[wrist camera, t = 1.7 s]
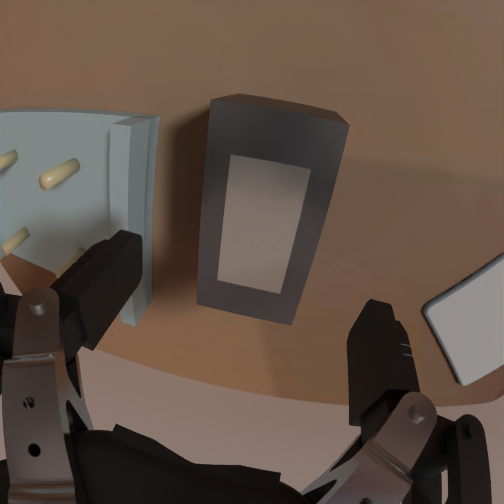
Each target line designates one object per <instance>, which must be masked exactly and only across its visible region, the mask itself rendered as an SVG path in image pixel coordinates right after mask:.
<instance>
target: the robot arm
mask: <svg viewBox="0 0 504 504" xmlns="http://www.w3.org/2000/svg"><path fill="white" fill-rule="evenodd" d="M142 273H143V241H142V236H141V235H140V234H136V233H133V232H130V231H126V230H123V229H121V230H119V231H118V232H117V233H116V234H115V235H113V236H112V237H111V238H110V239H109V240H107V239H104V240H102V241H100V242H98V243H96V244H94V245H92V246H91V247H90V248H89V249H88V250H87V251H86V252H85V253H84V255H82V256H80V257H79V258H78V259H77V261H76V262H74V263H73V264H72V265H71V266H70V267H69V268H68V269H67V270H66V271H65V272H64V273H63V274H62V275H61V276H60V277H59V278H58V279H57V280H56V281H55V282H54V283H53V284H52V285H51V286H50V287H36V288H32V289H30V290H29V291H27V292H26V293H24V294H23V295H22V296H18V295H11V294H5V292H4V289H3V287H2V284H1V283H0V395H1V393H2V415H3V431H4V442H5V450H6V459H4V460H1V461H0V504H400V503H401V502H402V504H442V480H441V479H442V477H441V472H443V471H445V470H448V498H447V501H446V503H445V504H492V497H491V480H490V468H489V459H488V451H487V444H486V438H485V432H484V428H483V426H482V424H481V422H480V421H479V420H478V419H477V418H476V417H475V416H473V415H469V414H466V415H463V416H461V417H460V418H459V419H457V420H456V421H455V422H454V421H451V420H449V419H446V418H444V417H442V416H439V415H437V411H436V408H435V406H434V404H433V402H432V401H431V400H430V399H429V398H428V397H427V396H426V395H424V394H422V393H420V388H419V383H418V378H417V373H416V369H415V364H414V360H413V357H412V351H411V347H409V346H410V343H409V339H408V335H407V332H406V331H405V329H404V327H403V326H402V324H401V323H400V321H397V320H395V317H394V313H393V309H392V306H391V304H389V303H385V302H381V301H377V300H373V299H370V300H369V301H368V302H367V303H366V305H365V306H364V308H363V310H362V312H361V313H360V315H359V317H358V318H357V320H356V322H355V323H354V325H353V327H352V328H351V330H350V332H349V335H348V339H347V359H348V383H349V425H352V426H360V427H361V434H359V435H358V436H357V437H356V438H355V440H354V441H353V442H352V443H351V444H350V445H349V446H348V448H347V449H346V450H345V451H344V452H343V453H342V454H341V455H340V457H339V458H338V459H337V460H336V461H335V462H334V463H333V464H332V465H331V466H330V467H329V468H328V469H327V470H326V472H324V473H323V474H322V475H321V476H320V477H319V478H317V479H316V480H315V481H313V482H312V483H311V484H310V485H308V486H307V487H306V488H305V489H304V490H303V491H302V492H301V493H300V492H298V491H297V490H295V489H294V488H292V487H291V486H289V485H287V484H285V483H283V482H281V481H280V475H281V473H279V472H273V471H267V470H261V469H256V468H250V467H246V466H241V465H209V464H195V463H192V462H190V461H188V460H186V459H184V458H183V457H181V456H179V455H178V454H176V453H174V452H173V451H171V450H169V449H168V448H166V447H165V446H163V445H162V444H160V443H159V442H157V441H155V440H154V439H151V438H149V437H146V436H144V435H141V434H139V433H136V432H134V431H132V430H129V429H127V428H125V427H122V426H120V425H118V424H116V425H115V427H114V429H113V431H106V430H94V429H93V425H92V421H91V419H90V415H89V413H88V410H87V407H86V404H85V398H84V393H83V387H82V380H81V373H80V365H79V357H78V353H77V352H78V351H79V349H80V348H81V346H83V347H85V348H88V349H90V350H92V351H93V350H94V348H95V347H96V345H97V344H98V342H99V341H100V339H101V338H102V337H103V335H104V334H105V332H106V331H107V329H108V328H109V326H110V325H111V323H112V322H113V321H114V319H115V318H116V316H117V315H118V313H119V312H120V311H121V309H122V308H123V306H124V305H125V304H126V302H127V301H128V299H129V298H130V297H131V295H132V294H133V292H134V291H135V290H136V288H137V287H138V285H139V283H140V281H141V278H142Z"/></svg>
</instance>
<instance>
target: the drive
mask: <svg viewBox="0 0 504 504" xmlns="http://www.w3.org/2000/svg"><path fill="white" fill-rule="evenodd" d="M348 129H349V124H348V123H347V122H346V121H345V120H344V119H343V118H342V117H341V116H340V115H339V114H338V113H337V112H334V111H330V110H326V109H322V108H317V107H313V106H308V105H304V104H299V103H294V102H289V101H283V100H278V99H272V98H266V97H259V96H253V95H245V94H235V95H230V96H225V97H220V98H216V99H211V105H210V114H209V123H208V132H207V142H206V153H205V164H204V176H203V188H202V202H201V217H200V234H199V253H198V278H197V304H198V305H202V306H206V307H210V308H214V309H219V310H223V311H227V312H231V313H236V314H240V315H245V316H249V317H254V318H258V319H263V320H267V321H272V322H277V323H282V324H287V325H292V322H293V319H294V316H295V313H296V310H297V307H298V304H299V301H300V298H301V295H302V292H303V289H304V286H305V283H306V280H307V277H308V274H309V271H310V268H311V264H312V261H313V258H314V255H315V251H316V248H317V245H318V242H319V238H320V235H321V231H322V228H323V225H324V221H325V218H326V214H327V211H328V207H329V203H330V200H331V196H332V193H333V189H334V185H335V181H336V178H337V174H338V170H339V166H340V162H341V158H342V154H343V150H344V146H345V142H346V138H347V134H348Z"/></svg>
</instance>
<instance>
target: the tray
mask: <svg viewBox="0 0 504 504" xmlns="http://www.w3.org/2000/svg"><path fill="white" fill-rule="evenodd" d="M159 124H160V116H156V115H148V114H139V113H130V112H119V111H107V110H91V109H67V108H26V109H3V110H0V259H1V258H3V257H4V256H7V255H9V254H10V253H12V254H14V255H16V256H18V257H20V258H22V259H24V260H27V261H29V262H31V263H33V264H35V265H37V266H40V267H42V268H44V269H46V270H49V271H51V272H53V273H55V275H56V277H57V279H58V278H59V277H60V276H61V275H62V274H63V273H64V272H65V271H66V270H67V269H68V268H69V267H70V266H71V265H72V264H73V263H74V262H76V261H77V259H78V258H79V257H80V256H82V255H84V253H85V252H86V251H87V250H88V249H89V248H90V247H91V246H92V245H94V244H96V243H98V242H100V241H102V240H104V239H107V240H109V239H110V238H111V237H112V236H113V235H115V234H116V233H117V232H118V231H119V230H121V229H123V230H126V231H130V232H133V233H136V234H140V235H141V236H142V241H143V273H142V278H141V281H140V283H139V285H138V287H137V288H136V290H135V291H134V292H133V294H132V295H131V297H130V298H129V299H128V301H127V302H126V304H125V305H124V306H123V308H122V309H121V311H120V316H121V321H122V322H124V323H127V324H129V325H132V326H135V327H136V325H137V323H138V322H139V320H140V318H141V317H142V315H143V313H144V312H145V310H146V309H147V307H148V305H149V304H150V302H151V300H152V299H153V297H152V221H153V196H154V179H155V165H156V153H157V142H158V133H159Z"/></svg>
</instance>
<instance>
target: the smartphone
mask: <svg viewBox="0 0 504 504" xmlns="http://www.w3.org/2000/svg"><path fill="white" fill-rule="evenodd" d="M423 313H424V315H425V317H426V319H427V320H428V322H429V324H430V326H431V328H432V329H433V331H434V333H435V335H436V337H437V339H438V340H439V342H440V344H441V346H442V348H443V350H444V352H445V354H446V356H447V358H448V360H449V362H450V364H451V366H452V368H453V370H454V373H455V375H456V376H457V378H458V381H459V383H460V385H461V386H467V385H469V384H471V383H473V382H475V381H476V380H478V379H480V378H482V377H484V376H485V375H487V374H489V373H491V372H492V371H494V370H496V369H497V368H499V367H501V366H502V365H504V253H502V254H500V255H499V256H497V257H496V258H494V259H493V260H492V261H490V262H489V263H488V265H485V267H483V268H481V270H477V271H476V272H474V273H473V274H472V276H470V277H469V278H467V279H466V280H464V281H463V282H459V283H458V284H456V285H455V286H454V287H453V288H451V289H450V290H447V292H443V293H442V294H440V295H438V296H437V297H435V298H433V299H432V300H430V301H429V302H427V303H426V304H425V306H424V308H423Z"/></svg>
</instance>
